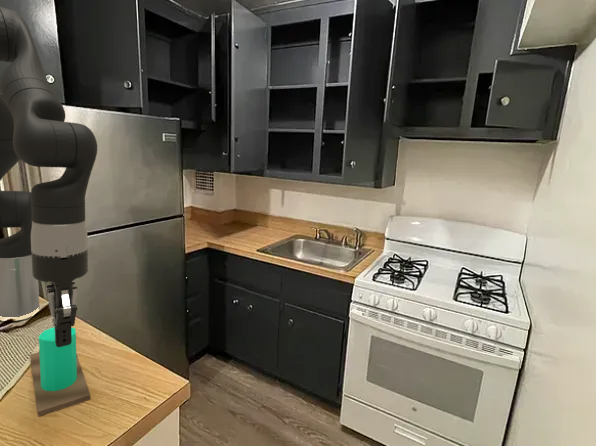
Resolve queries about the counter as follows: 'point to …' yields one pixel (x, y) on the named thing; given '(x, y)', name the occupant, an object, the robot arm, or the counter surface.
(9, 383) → the counter surface
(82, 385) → the board
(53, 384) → the candle
